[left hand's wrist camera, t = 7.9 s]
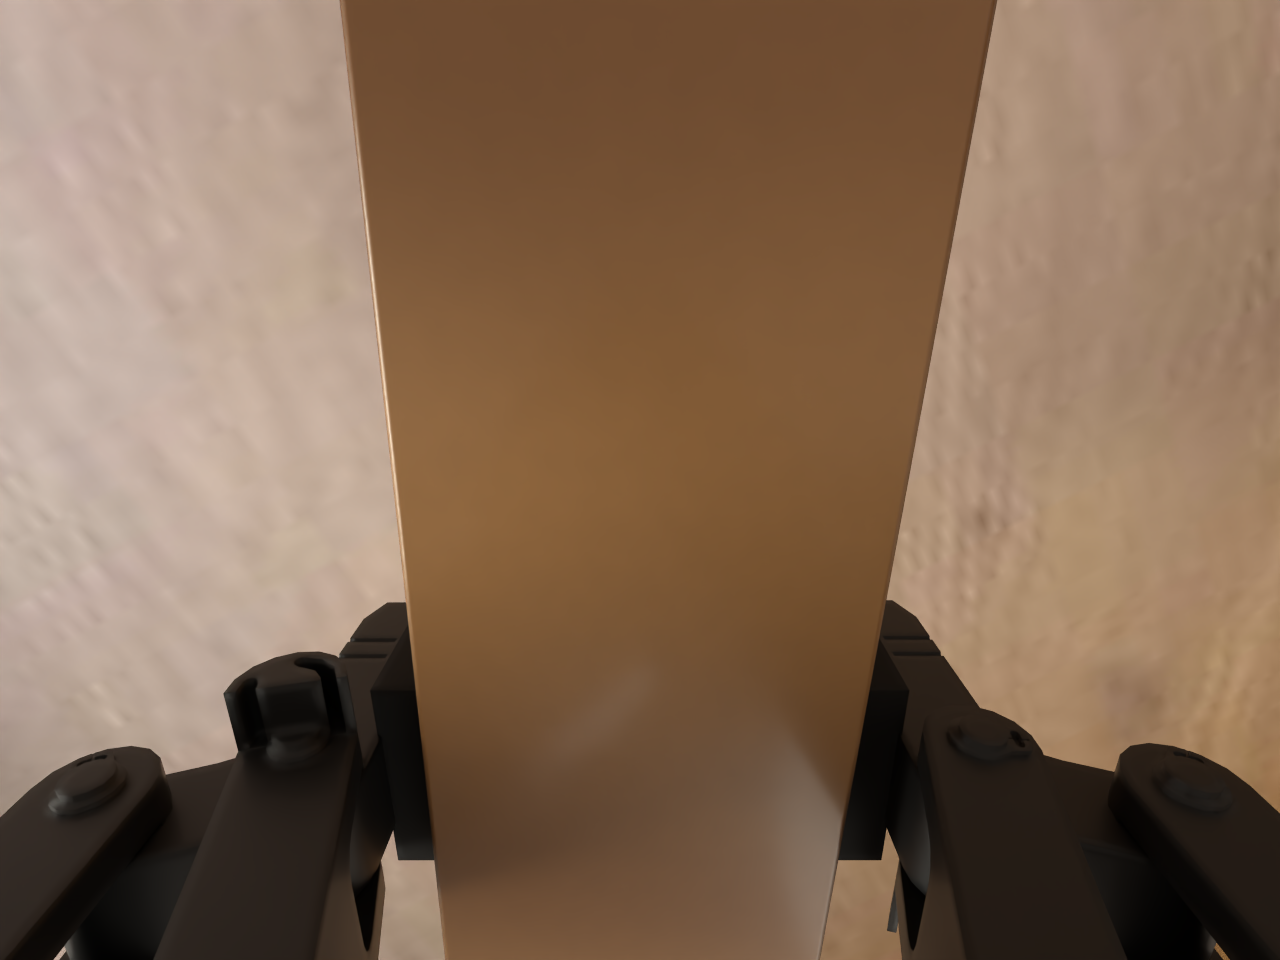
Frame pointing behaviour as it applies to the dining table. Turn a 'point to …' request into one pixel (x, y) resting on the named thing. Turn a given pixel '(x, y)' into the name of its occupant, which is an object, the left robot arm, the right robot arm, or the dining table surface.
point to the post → (652, 436)
